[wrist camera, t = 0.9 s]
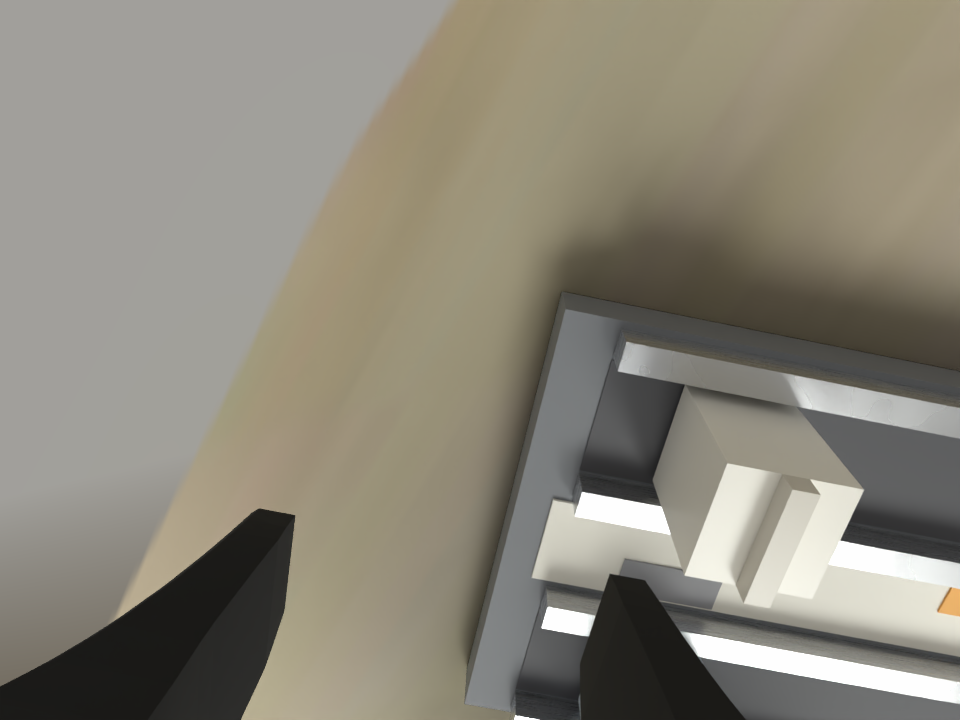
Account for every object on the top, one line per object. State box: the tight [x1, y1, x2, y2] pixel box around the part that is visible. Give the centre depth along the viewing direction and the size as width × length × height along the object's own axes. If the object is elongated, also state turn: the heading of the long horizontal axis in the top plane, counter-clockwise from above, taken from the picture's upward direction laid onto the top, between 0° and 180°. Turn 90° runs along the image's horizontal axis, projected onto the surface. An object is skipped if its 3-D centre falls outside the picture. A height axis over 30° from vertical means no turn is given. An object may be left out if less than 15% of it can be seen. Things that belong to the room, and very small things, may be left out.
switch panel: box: [464, 292, 960, 720], centre depth 22 cm, size 14×22×2 cm, turn 79°
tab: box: [653, 385, 864, 608], centre depth 17 cm, size 3×3×5 cm
